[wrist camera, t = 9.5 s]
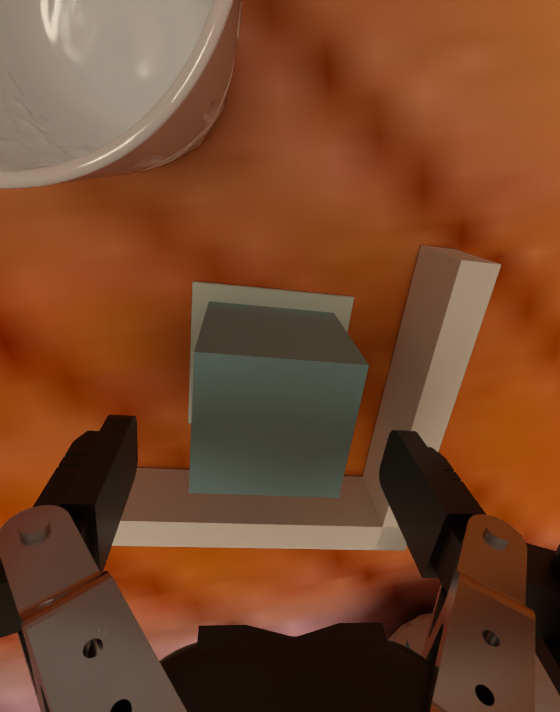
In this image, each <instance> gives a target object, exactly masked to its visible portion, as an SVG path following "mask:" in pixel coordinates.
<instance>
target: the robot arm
mask: <svg viewBox="0 0 560 712" xmlns="http://www.w3.org/2000/svg"><path fill="white" fill-rule="evenodd" d="M137 462H138V449H137V420H136V416H126V415H108V417H107V418H106V420H105V422H104V424H103V426H102V428H101V429H100V431H87V432H85V433H84V434H83V435H81V436H80V437H79V438H77V439H76V440H75V441H73V443H72V444H71V446H70V448H69V449H68V451H67V453H66V455H65V457H63V459H62V461H61V462H60V464H59V467H57V469H56V470H55V472H54V474H53V475H52V477H51V478H50V480H49V482H48V483H47V485H46V486H45V488H44V490H43V491H42V493H41V494H40V496H39V498H38V499H37V501H36V503H35V504H34V506H33V507H32V508H29V509H26V510H24V511H22V512H20V513H18V514H16V515H15V516H13V517H12V518H10V519H9V520H8V521H7V522H6V523H5V524H4V525H3V526H2V527H1V529H0V638H1V637H4V636H7V635H11V634H14V633H17V635H18V638H19V641H20V644H21V648H22V651H23V654H24V657H25V661H26V664H27V667H28V671H29V674H30V677H31V680H32V684H33V687H34V690H35V694H36V697H37V700H38V704H39V707H40V711H41V712H535V653H536V655H537V657H538V658H539V660H540V662H541V664H542V665H543V667H544V669H545V671H546V673H547V674H548V676H549V678H550V680H551V681H552V683H553V685H554V687H555V688H556V690H557V692H558V694H559V695H560V545H559V546H558V548H557V550H556V551H553V550H549V549H546V548H542V547H538V546H535V545H531V544H528V543H526V542H525V540H524V539H523V537H522V536H521V535H520V534H519V532H518V531H517V530H515V529H514V528H513V527H512V526H511V525H509V524H508V523H506V522H504V521H503V520H501V519H498V518H496V517H493V516H490V515H486V513H485V512H484V511H483V509H482V508H481V507H480V505H479V504H478V502H477V501H476V500H475V498H474V497H473V496H472V494H471V493H470V491H469V490H468V489H467V487H466V486H465V485H464V483H463V482H461V479H460V478H459V476H458V475H457V474H456V472H454V469H453V468H452V467H451V465H450V464H449V463H448V461H447V460H446V458H445V457H443V456H442V455H441V454H440V453H438V452H437V451H436V450H435V449H433V448H432V447H427V445H426V444H425V442H424V441H423V440H422V438H421V437H420V435H419V434H418V433H417V432H416V431H406V430H392V431H391V432H390V434H389V436H388V440H387V443H386V447H385V450H384V454H383V457H382V461H381V464H380V469H379V481H380V486H381V488H382V490H383V493H384V495H385V497H386V499H387V501H388V504H389V506H390V508H391V510H392V513H393V515H394V517H395V519H396V521H397V524H398V526H399V528H400V530H401V532H402V535H403V537H404V539H405V541H406V543H407V546H408V548H409V550H410V552H411V554H412V557H413V559H414V561H415V563H416V565H417V568H418V570H419V572H420V574H421V576H422V578H439V580H440V582H441V587H440V589H439V592H438V595H437V598H436V602H435V606H434V610H433V613H432V617H431V621H430V625H429V628H428V632H427V636H426V639H425V643H424V647H423V650H422V653H421V655H419V654H418V653H416V652H415V651H413V650H411V649H410V648H408V647H406V646H404V645H402V644H399V643H397V642H394V641H392V640H388V639H387V637H386V634H385V631H384V628H383V625H382V622H381V623H338V624H335V625H332V626H329V627H326V628H323V629H320V630H316V631H313V632H310V633H307V634H304V635H301V636H297V637H292V636H287V635H283V634H279V633H276V632H272V631H268V630H264V629H260V628H256V627H252V626H248V625H216V626H199V631H198V642H196V643H193V644H190V645H187V646H185V647H183V648H181V649H178V650H176V651H174V652H173V653H171V654H169V655H168V656H166V657H164V658H163V659H162V660H160V661H159V660H158V658H157V656H156V655H155V653H154V651H153V649H152V647H151V646H150V644H149V642H148V640H147V638H146V637H145V635H144V633H143V631H142V629H141V628H140V626H139V624H138V622H137V620H136V619H135V617H134V615H133V613H132V611H131V609H130V608H129V606H128V604H127V602H126V600H125V599H124V597H123V595H122V593H121V591H120V590H119V588H118V586H117V584H116V582H115V581H114V579H113V577H112V576H111V574H110V573H109V572H108V571H105V572H103V570H104V567H105V564H106V561H107V558H108V555H109V552H110V549H111V546H112V544H113V541H114V538H115V535H116V532H117V529H118V526H119V523H120V520H121V517H122V514H123V511H124V508H125V506H126V503H127V500H128V497H129V494H130V491H131V488H132V485H133V482H134V479H135V476H136V470H137Z"/></svg>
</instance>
